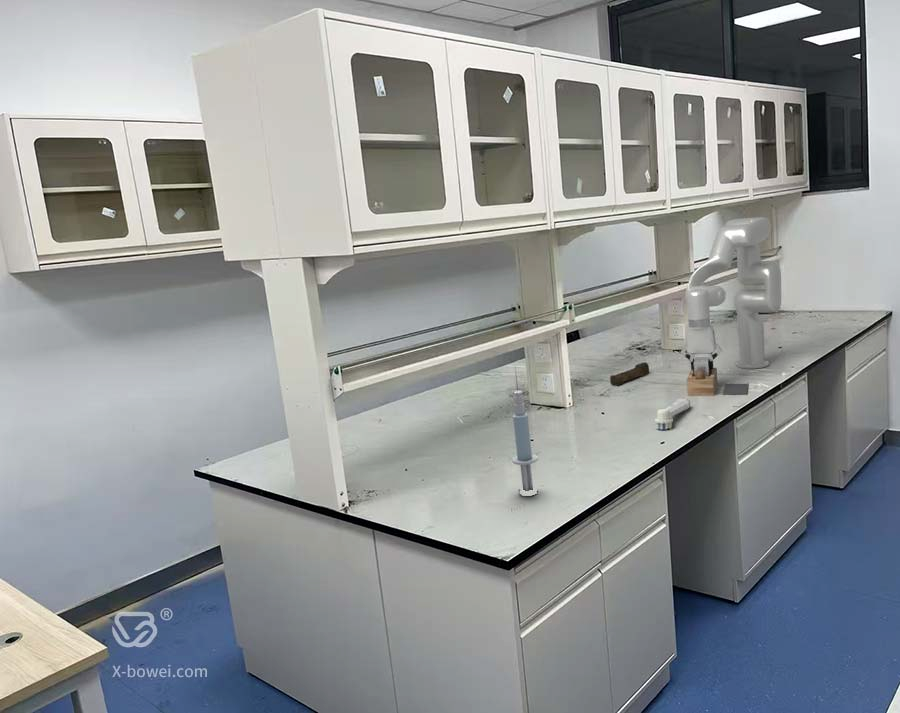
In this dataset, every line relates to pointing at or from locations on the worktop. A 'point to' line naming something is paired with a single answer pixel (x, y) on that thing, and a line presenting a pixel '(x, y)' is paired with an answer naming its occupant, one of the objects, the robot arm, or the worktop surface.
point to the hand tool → (630, 374)
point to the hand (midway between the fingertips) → (702, 370)
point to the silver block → (702, 365)
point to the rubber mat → (735, 389)
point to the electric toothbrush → (671, 413)
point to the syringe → (523, 441)
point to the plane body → (701, 383)
